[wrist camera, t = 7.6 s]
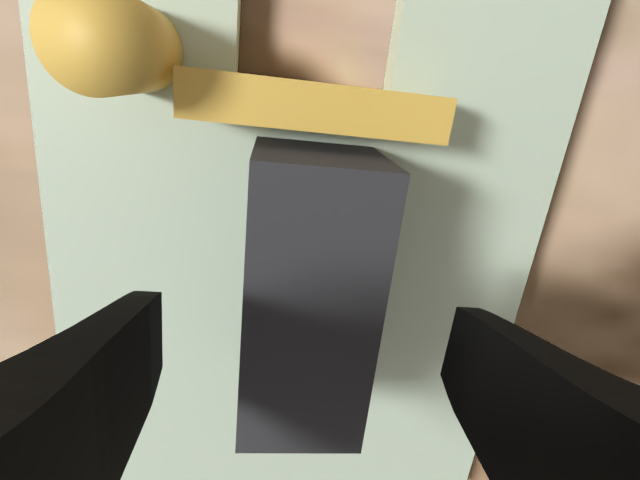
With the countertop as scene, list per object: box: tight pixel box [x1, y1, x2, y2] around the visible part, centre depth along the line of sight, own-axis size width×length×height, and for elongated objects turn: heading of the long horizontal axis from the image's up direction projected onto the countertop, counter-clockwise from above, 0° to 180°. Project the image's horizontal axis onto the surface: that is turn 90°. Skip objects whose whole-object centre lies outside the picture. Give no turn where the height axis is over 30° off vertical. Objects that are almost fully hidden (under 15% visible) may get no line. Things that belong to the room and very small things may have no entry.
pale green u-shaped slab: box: [18, 0, 611, 480], centre depth 13 cm, size 20×16×4 cm
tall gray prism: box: [235, 136, 410, 454], centre depth 13 cm, size 8×4×4 cm, turn 174°
